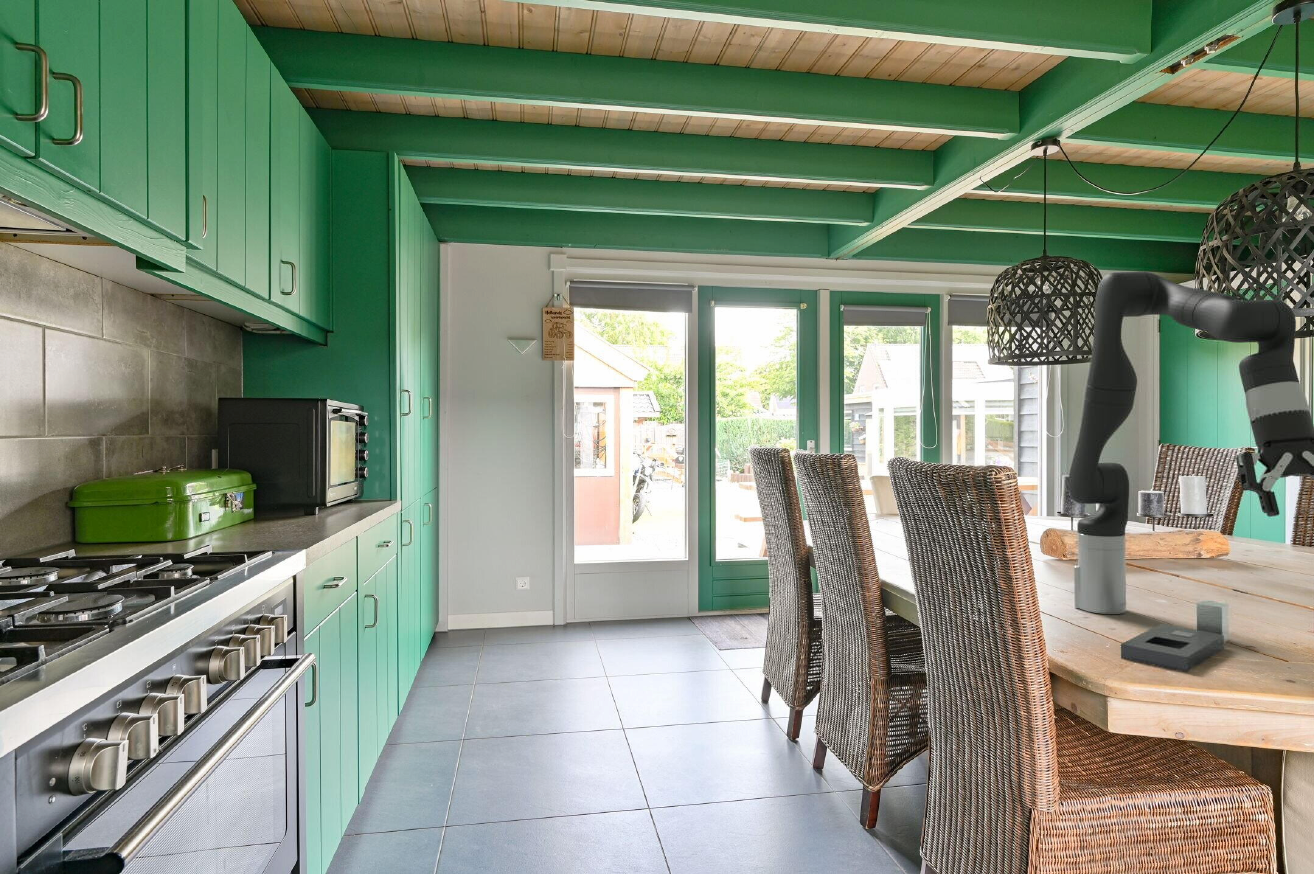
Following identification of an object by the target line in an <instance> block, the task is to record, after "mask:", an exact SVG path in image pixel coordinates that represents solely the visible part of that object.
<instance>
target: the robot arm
mask: <svg viewBox="0 0 1314 874" xmlns="http://www.w3.org/2000/svg"><path fill="white" fill-rule="evenodd" d="M1153 315H1157V316H1158V315H1159V316H1161V315H1162V316H1168V317H1169V316H1170V317H1171V319H1172V320H1173V321H1174V322H1175V323H1178V324H1180V325H1181V326H1183V327H1187V328H1190V329H1195V330H1198V331H1202V332H1207V333H1208V334H1209V335H1211V336H1213V337H1214V338H1216V339H1218V340H1221V341H1222V342H1228V343H1257V345H1258V349H1257V352H1256V353H1253V354H1250V355H1248V356H1245V357H1244V358H1243V359H1241V361H1240V362H1239V364H1238V371H1239V375H1240V379H1241V384H1242V387H1243V390H1244V391H1243V392H1244V395H1245V406H1246V411H1247V415H1248V418H1249V422H1250V423H1249V424H1250V426H1251V430H1252V435H1253V438H1254V439H1253V440H1254V442H1255V446H1256V447H1257V452H1250V451H1245V452H1242V453H1240V454H1238V455H1236V456H1235V459H1236V465H1237V472H1238V477H1239V483H1240V484H1239V485H1240V488H1241V490H1242V491H1244V492H1245V491H1249V492H1254V493H1256V494H1257V496H1258V499H1259V504H1260V508H1261V511H1262V512H1263V514H1266V516H1267V517H1269V518H1270V517H1277V516H1279V515H1280V509H1279V505H1278V502H1277V497H1276V493H1275V491H1272V488H1273V487H1274V485H1275V484H1276V482H1277V480H1279V479H1280V478H1282V479H1283V478H1287V477H1304V476H1308V477H1309V478H1310V479H1311V480H1314V421H1313V418H1312V415H1311V411H1310V405H1309V404H1308V400H1307V397H1306V395H1305V392H1304V390H1303V388H1302V385H1301V383H1300V380H1299V376H1298V373H1297V370H1296V369H1297V368H1296V365H1295V362H1294V355H1295V354H1294V352H1295V343H1296V342H1295V341H1296V333H1297V332H1296V330H1297V320H1296V315H1295V313H1294V311H1293V309H1292V308H1291V307H1290V306H1289V304H1287V303H1286V302H1284V301H1282V300H1278V299H1257V300H1256V299H1254V300H1253V299H1252V300H1251V299H1247V300H1239V299H1237V298H1235V297H1234V296H1232V295H1229V294H1227V293H1223V292H1218V291H1217V292H1216V291H1212V290H1206V289H1203V288H1196V287H1188V286H1184V285H1182V284H1179V283H1176V282H1174V281H1172V280H1169V279H1167V278H1165V277H1163V276H1161V275H1158V274H1157V273H1156V274H1155V273H1152V272H1150V271H1149V272H1148V271H1126V272H1125V271H1124V272H1123V271H1122V272H1110V273H1107V274H1106V275H1105V276H1103V277H1102V279H1101V281H1100V282H1099V285H1098V286H1097V291H1096V297H1095V305H1094V320H1093V321H1094V322H1093V323H1094V324H1093V325H1094V326H1093V337H1092V338H1093V339H1092V340H1093V341H1092V349H1091V350H1092V351H1091V356H1090V362H1089V363H1090V364H1089V370H1088V374H1087V375H1088V377H1087V381H1086V388H1085V393H1084V401H1083V410H1082V417H1081V423H1080V429H1079V433H1078V436H1077V437H1078V439H1077V443H1076V445H1075V446H1076V447H1075V451H1074V453H1073V458H1072V461H1071V464H1070V469H1069V474H1068V482H1067V484H1068V486H1067V487H1068V492H1069V496H1070V498H1071V499H1072V500H1073V501H1074V502H1075V503H1078V504H1084V505H1095V504H1096V505H1098V508H1097V509H1096V511H1095V512H1094V513H1091V514H1090V515H1088V516H1086V517H1083V518H1081V519H1079V520H1078V521H1077V526H1076V527H1077V530H1076V531H1077V564H1076V565H1075V566H1074V567H1073V568H1074V569H1073V572H1074V574H1073V576H1074V577H1073V579H1074V580H1073V581H1074V586H1073V587H1074V592H1073V593H1074V608H1075V609H1076V608H1077V609H1080V610H1083V611H1086V612H1089V613H1097V614H1103V615H1120V614H1125V613H1126V612H1127V580H1126V579H1127V577H1126V575H1127V573H1126V572H1127V571H1126V570H1127V569H1126V568H1127V567H1126V566H1127V565H1126V562H1127V561H1126V528H1127V524H1128V521H1129V501H1130V479H1129V475H1128V472H1127V470H1126V469H1125V467H1124V466H1123V465H1121V464H1120V463H1118V462H1100V458H1101V455H1102V452H1103V450H1104V448H1105V446H1106V444H1107V443H1108V441H1109V439H1110V438H1111V437H1112V436H1113V435H1114V434H1115V433H1116V432H1117V431H1118V430H1119V428H1120V427H1121V426H1122V425H1123V424H1124V422H1125V421H1126V420H1127V419H1128V417H1129V416H1130V414H1131V412H1132V410H1133V408H1134V404H1135V398H1136V392H1137V391H1136V390H1137V387H1138V378H1137V377H1138V376H1137V373H1136V371H1135V368H1134V366H1133V365H1132V362H1131V360H1130V358H1129V356H1128V355H1127V352H1126V350H1125V348H1124V345H1123V341H1122V330H1123V329H1122V328H1123V320H1124V318H1126V317H1127V318H1129V317H1135V318H1136V317H1143V316H1153ZM1257 462H1259V463H1260V464H1261V465H1263V466H1264V467H1265V469H1264V470H1263V472H1262V474H1261V475H1260V477H1259V481H1258V479H1257V474H1256V469H1255V466H1256V465H1257Z"/></svg>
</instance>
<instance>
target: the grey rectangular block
mask: <svg viewBox="0 0 1314 874" xmlns="http://www.w3.org/2000/svg"><path fill="white" fill-rule="evenodd" d="M1229 615H1230V613H1229V603H1227V604H1226V603H1218V602H1211V601H1204V600H1203V601H1201V602H1197V603H1196V630H1198V631H1204V632H1210V633H1216V634H1221V635H1224V642H1225V643H1227V642H1228V641H1229V640H1230V639H1229V638H1230V633H1229V631H1230V627H1229V626H1230V625H1229V624H1230V623H1229V621H1230V618H1229ZM1228 639H1229V640H1228ZM1227 640H1228V641H1227ZM1226 641H1227V642H1226Z"/></svg>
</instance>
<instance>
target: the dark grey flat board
mask: <svg viewBox="0 0 1314 874" xmlns="http://www.w3.org/2000/svg"><path fill="white" fill-rule="evenodd" d="M1223 648H1225V643H1224V635H1221V634H1216V633H1210V632H1204V631H1198V630H1197V629H1193V628H1192V629H1191V628H1186V627H1179V626H1174V625H1169V624H1162V623H1161V624H1159V625H1156V626H1155V627H1153V628H1150V629H1149V630H1146V631H1144V632H1143V633H1141V634H1139V635H1135V636H1134V637H1133V638H1129V639H1128V640H1126V641H1124V642H1122V643H1121V644H1120V658H1121V659H1124V660H1129V659H1130V661H1134V662H1138V661H1139V662H1138V663H1143V662H1145V663H1144V664H1147V663H1148V665H1152V664H1155V665H1154V666H1157V665H1159V666H1158V667H1161V666H1163V667H1162V668H1166V667H1167V669H1171V668H1172V669H1171V670H1176V671H1180V670H1181V672H1185V671H1186V672H1185V673H1188V672H1190V671H1191V670H1192V669H1194V668H1195V667H1197V666H1199V665H1200V664H1201V663H1203V662H1205V661H1206V660H1208V659H1209V657H1210V658H1211V657H1212V656H1214V655H1216V654H1217V653H1219V652H1220V651H1222V650H1224V649H1223Z"/></svg>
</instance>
